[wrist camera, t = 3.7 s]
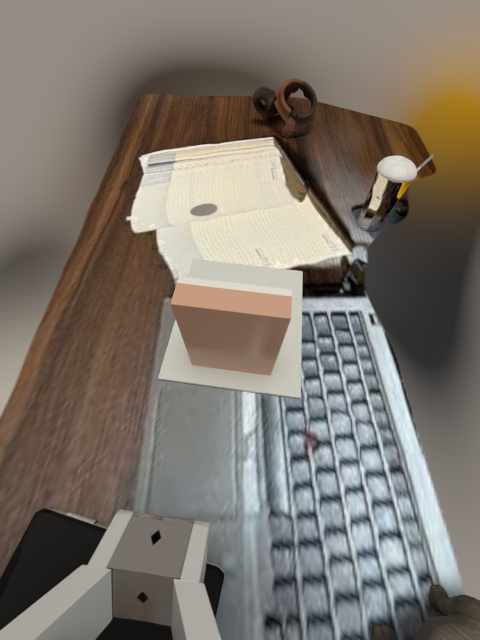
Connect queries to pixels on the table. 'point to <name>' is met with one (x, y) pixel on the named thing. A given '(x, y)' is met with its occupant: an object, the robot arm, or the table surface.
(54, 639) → the robot arm
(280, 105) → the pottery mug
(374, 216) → the milkshake
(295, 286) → the mat
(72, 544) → the smartphone
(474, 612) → the brown elongated animal figure
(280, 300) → the tile
